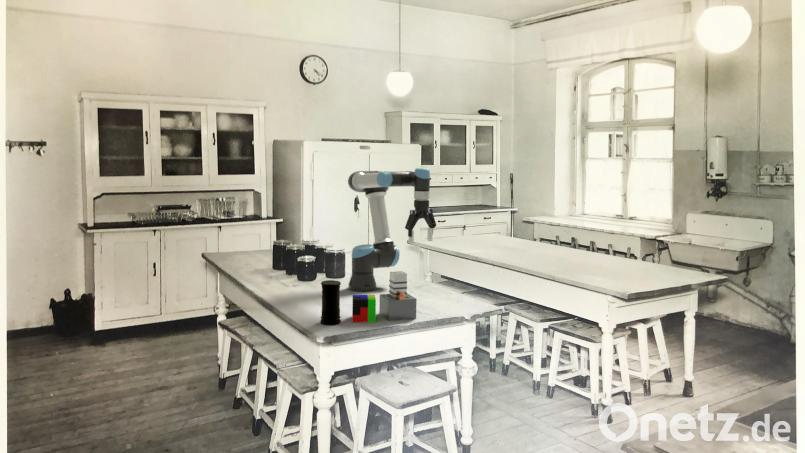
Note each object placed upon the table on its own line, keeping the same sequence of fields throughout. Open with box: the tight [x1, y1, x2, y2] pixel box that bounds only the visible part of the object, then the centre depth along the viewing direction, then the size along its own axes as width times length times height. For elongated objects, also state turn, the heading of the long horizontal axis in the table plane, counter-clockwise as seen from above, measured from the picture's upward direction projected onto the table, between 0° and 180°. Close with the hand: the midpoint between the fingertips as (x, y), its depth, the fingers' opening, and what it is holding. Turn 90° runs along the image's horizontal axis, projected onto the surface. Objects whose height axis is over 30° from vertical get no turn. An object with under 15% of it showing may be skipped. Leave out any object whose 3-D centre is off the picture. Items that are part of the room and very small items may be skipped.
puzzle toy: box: [351, 294, 377, 323], centre depth 292 cm, size 10×10×10 cm
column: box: [388, 270, 408, 299], centre depth 298 cm, size 6×6×20 cm
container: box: [319, 279, 342, 326], centre depth 285 cm, size 9×9×18 cm
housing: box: [378, 292, 418, 322], centre depth 298 cm, size 13×13×12 cm
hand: (420, 242), depth 328 cm, fingers open, 13 cm apart
